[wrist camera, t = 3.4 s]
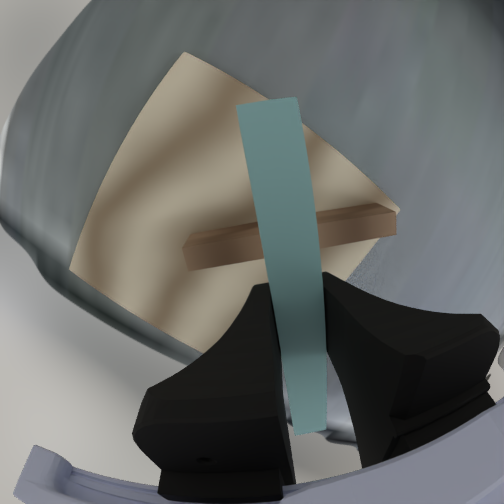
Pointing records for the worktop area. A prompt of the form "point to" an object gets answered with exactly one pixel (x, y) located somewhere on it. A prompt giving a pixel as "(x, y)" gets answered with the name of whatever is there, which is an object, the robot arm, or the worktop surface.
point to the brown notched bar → (249, 242)
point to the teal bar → (289, 250)
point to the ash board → (196, 207)
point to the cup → (501, 359)
